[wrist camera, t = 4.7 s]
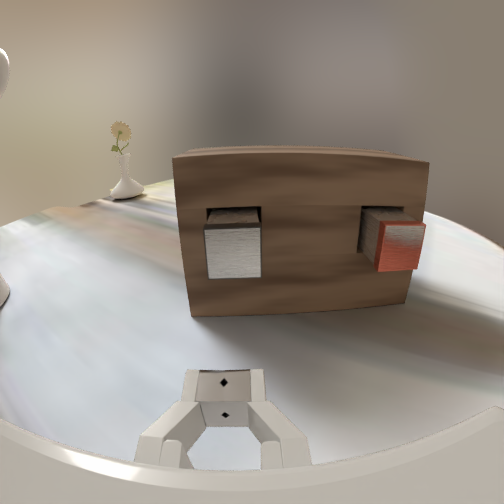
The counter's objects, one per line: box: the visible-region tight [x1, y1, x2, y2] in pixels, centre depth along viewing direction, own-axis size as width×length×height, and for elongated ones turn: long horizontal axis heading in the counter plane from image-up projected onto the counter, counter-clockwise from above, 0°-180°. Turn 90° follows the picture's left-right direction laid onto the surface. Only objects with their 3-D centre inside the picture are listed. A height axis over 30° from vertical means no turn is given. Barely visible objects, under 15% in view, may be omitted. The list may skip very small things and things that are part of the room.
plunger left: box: [203, 206, 262, 280], centre depth 25 cm, size 8×4×4 cm, turn 2°
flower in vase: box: [110, 121, 144, 199], centre depth 80 cm, size 13×11×25 cm
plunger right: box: [357, 205, 426, 272], centre depth 26 cm, size 8×4×4 cm, turn 2°
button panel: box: [172, 145, 429, 316], centre depth 31 cm, size 11×24×16 cm, turn 92°
